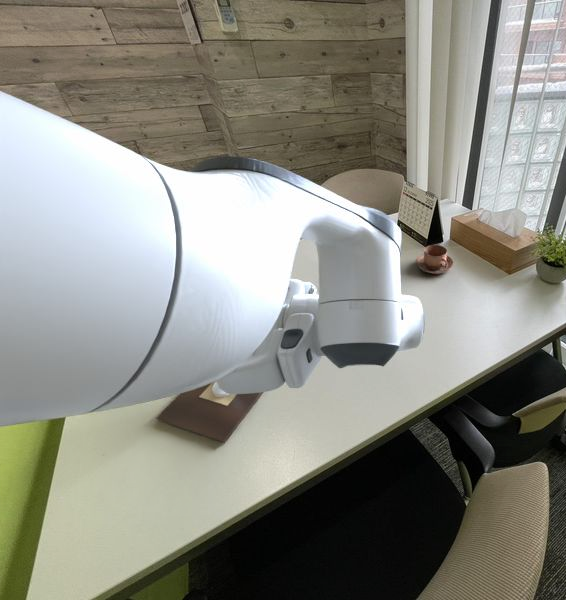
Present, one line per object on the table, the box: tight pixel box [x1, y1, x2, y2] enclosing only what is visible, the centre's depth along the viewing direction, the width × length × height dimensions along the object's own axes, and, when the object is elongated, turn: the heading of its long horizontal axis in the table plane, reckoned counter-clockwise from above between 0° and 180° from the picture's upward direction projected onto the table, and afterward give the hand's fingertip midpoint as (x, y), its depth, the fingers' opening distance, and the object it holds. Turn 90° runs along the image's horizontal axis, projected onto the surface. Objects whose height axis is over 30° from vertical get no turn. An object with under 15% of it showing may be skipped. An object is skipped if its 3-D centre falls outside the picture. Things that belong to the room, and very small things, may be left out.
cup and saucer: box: [416, 244, 454, 275], centre depth 106 cm, size 12×12×6 cm
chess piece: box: [212, 382, 230, 397], centre depth 66 cm, size 5×5×10 cm
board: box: [155, 381, 264, 445], centre depth 69 cm, size 20×16×1 cm
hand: (208, 328), depth 45 cm, fingers open, 8 cm apart
